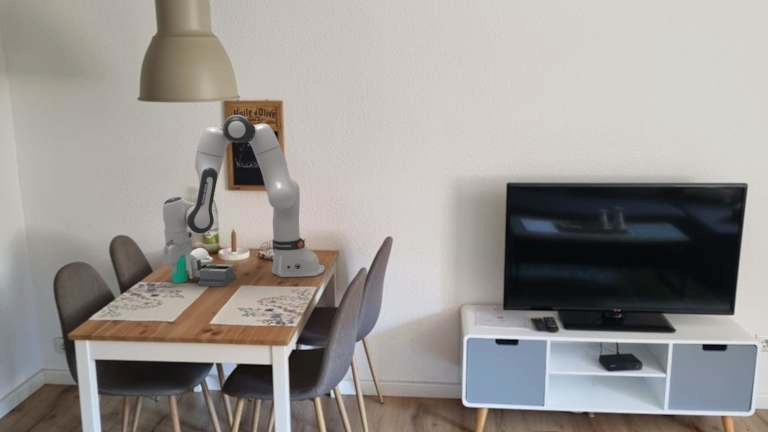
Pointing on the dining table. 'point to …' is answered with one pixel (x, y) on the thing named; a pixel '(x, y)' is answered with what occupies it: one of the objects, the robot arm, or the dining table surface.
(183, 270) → the candle
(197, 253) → the mug
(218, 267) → the grey box
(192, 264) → the light grey block
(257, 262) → the dining table surface
